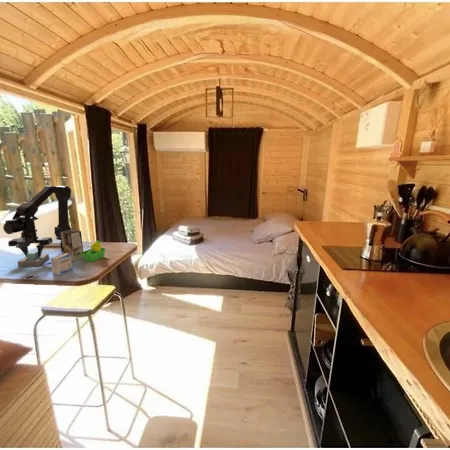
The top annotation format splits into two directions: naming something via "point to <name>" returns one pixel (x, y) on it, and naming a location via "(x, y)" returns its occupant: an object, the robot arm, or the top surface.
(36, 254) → the block
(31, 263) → the pocket plate
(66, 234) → the coffee box
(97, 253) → the fruit basket
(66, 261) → the medicine box
